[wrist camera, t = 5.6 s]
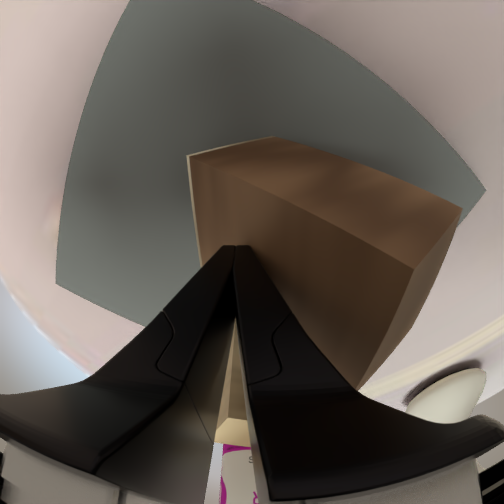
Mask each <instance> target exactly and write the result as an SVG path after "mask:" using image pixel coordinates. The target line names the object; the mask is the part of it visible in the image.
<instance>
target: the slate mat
mask: <svg viewBox="0 0 504 504" xmlns="http://www.w3.org/2000/svg"><path fill="white" fill-rule="evenodd" d="M269 136H275V137H278V138H282V139H286V140H289V141H293V142H296V143H300V144H303V145H306V146H309V147H313V148H316V149H319V150H322V151H325V152H328V153H331V154H334V155H337V156H340V157H343V158H346V159H349V160H352V161H354V162H357V163H360V164H363V165H365V166H368V167H371V168H373V169H376V170H378V171H381V172H384V173H386V174H389V175H391V176H393V177H396V178H398V179H401V180H403V181H405V182H408V183H410V184H412V185H415V186H417V187H419V188H421V189H424V190H426V191H428V192H430V193H432V194H434V195H437V196H439V197H441V198H443V199H445V200H447V201H449V202H451V203H453V204H455V205H457V206H459V207H461V208H463V209H462V212H461V215H460V218H459V221H458V224H457V227H458V225H459V224H460V223H461V222H462V221H463V219H464V218H465V217H466V216H467V214H468V213H469V212H470V211H471V209H472V208H473V207H474V206H475V204H476V203H477V202H478V201H479V199H480V198H481V197H482V195H483V194H484V193H485V191H486V189H485V188H484V186H483V185H482V184H481V182H480V181H479V180H478V178H477V177H476V176H475V174H474V173H473V172H472V171H471V169H470V168H469V167H468V166H467V164H466V163H465V162H464V161H463V160H462V158H461V157H460V156H459V155H458V154H457V152H456V151H455V150H454V149H453V148H452V147H451V146H450V144H449V143H448V142H447V141H446V140H445V139H444V138H443V137H442V136H441V135H440V134H439V133H438V131H437V130H436V129H435V128H434V127H433V126H432V125H431V124H430V123H429V122H428V121H427V120H426V119H425V118H424V117H423V116H422V115H421V114H420V113H419V112H418V111H417V110H416V109H414V108H413V107H412V106H411V105H410V104H409V103H408V102H407V101H406V100H405V99H404V98H402V97H401V96H400V95H399V94H398V93H397V92H396V91H394V90H393V89H392V88H391V87H390V86H389V85H387V84H386V83H385V82H384V81H382V80H381V79H380V78H379V77H378V76H376V75H375V74H374V73H372V72H371V71H370V70H369V69H367V68H366V67H365V66H363V65H362V64H361V63H359V62H358V61H356V60H355V59H354V58H352V57H351V56H349V55H348V54H347V53H345V52H344V51H342V50H341V49H339V48H338V47H336V46H335V45H333V44H332V43H330V42H329V41H327V40H326V39H324V38H322V37H321V36H319V35H317V34H316V33H314V32H312V31H311V30H309V29H307V28H306V27H304V26H302V25H300V24H299V23H297V22H295V21H293V20H291V19H289V18H288V17H286V16H284V15H282V14H280V13H278V12H276V11H274V10H272V9H270V8H268V7H266V6H264V5H261V4H259V3H257V2H255V1H253V0H130V1H129V3H128V5H127V7H126V9H125V10H124V12H123V14H122V16H121V18H120V20H119V22H118V24H117V26H116V28H115V30H114V32H113V34H112V36H111V39H110V41H109V43H108V45H107V48H106V50H105V52H104V55H103V57H102V59H101V62H100V64H99V67H98V69H97V72H96V74H95V77H94V80H93V83H92V85H91V88H90V91H89V94H88V97H87V100H86V103H85V106H84V109H83V113H82V116H81V119H80V123H79V126H78V130H77V134H76V138H75V142H74V146H73V150H72V154H71V159H70V163H69V168H68V173H67V178H66V184H65V189H64V195H63V202H62V209H61V216H60V225H59V234H58V245H57V260H56V284H57V285H59V286H61V287H63V288H65V289H67V290H69V291H70V292H72V293H74V294H76V295H78V296H80V297H82V298H84V299H86V300H88V301H90V302H92V303H94V304H96V305H98V306H100V307H102V308H105V309H107V310H109V311H111V312H113V313H115V314H117V315H120V316H122V317H124V318H126V319H128V320H131V321H133V322H135V323H138V324H140V325H142V326H145V327H146V326H147V325H148V324H149V323H150V322H151V321H152V320H153V319H154V318H155V317H156V316H157V315H158V313H159V312H160V311H162V309H163V308H164V307H165V306H166V305H167V304H168V303H169V302H170V301H171V300H172V298H173V297H174V296H175V295H176V294H177V293H178V292H179V291H180V290H181V289H182V288H183V287H184V286H185V284H186V283H187V282H188V281H189V280H190V279H191V278H192V277H193V276H194V275H195V274H196V273H197V272H198V271H199V269H200V268H201V267H200V260H199V254H198V247H197V240H196V233H195V225H194V218H193V210H192V202H191V193H190V185H189V176H188V166H187V157H186V155H190V154H194V153H197V152H201V151H205V150H209V149H213V148H217V147H222V146H226V145H230V144H235V143H239V142H244V141H249V140H254V139H259V138H264V137H269ZM457 227H456V228H457Z"/></svg>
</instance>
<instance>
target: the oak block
mask: <svg viewBox="0 0 504 504" xmlns="http://www.w3.org/2000/svg"><path fill="white" fill-rule="evenodd" d="M214 442H217V443H223V444H229V445H237V446H245V447H251V446H250V438H249V431H248V423H247V415H246V407H245V398H244V390H243V381H242V372H241V364H240V355H239V345H238V336H237V326H236V318H235V324H234V330H233V336H232V341H231V347H230V353H229V359H228V364H227V370H226V376H225V382H224V387H223V393H222V399H221V405H220V411H219V416H218V422H217V428H216V434H215V440H214Z"/></svg>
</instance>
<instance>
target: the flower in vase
mask: <svg viewBox="0 0 504 504" xmlns="http://www.w3.org/2000/svg"><path fill="white" fill-rule="evenodd" d="M485 383H486V372H485V371H483V370H481V369H479V368H472V369H467V370H463V371H460V372H457V373H454V374H451V375H449V376H447V377H445V378H443V379H441V380H439V381H437V382H435V383H434V384H432V385H431V386H429V387H427V388H426V389H425V390H423V391H422V392H421V393H420V394H418V395H417V396H416V397H415V398H414V399H413V400H412V401H411V402H410V403H409V404H408V406H407V409H406V412H405V413H408V414H411V415H413V416H416V417H419V418H422V419H425V420H428V421H432V422H435V423H456V422H460V421H463V420H465V419H468V418H469V417H470V414H471V413H472V411H473V409H474V407H475V405H476V404H477V402H478V400H479V398H480V396H481V394H482V392H483V389H484V386H485ZM476 463H477V468H478V473H480V472H482V471H484V470H486V469H485V468H483V467H482V466H481V465H480V464H479V463H478V461H477V460H476Z"/></svg>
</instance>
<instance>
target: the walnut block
mask: <svg viewBox="0 0 504 504" xmlns="http://www.w3.org/2000/svg"><path fill="white" fill-rule="evenodd" d="M186 157H187V166H188V176H189V185H190V193H191V202H192V210H193V218H194V225H195V233H196V240H197V247H198V254H199V260H200V267H202V266H203V265H204V264H205V263H206V262H207V261H208V260H209V259H210V258H211V257H212V256H213V255H214V254H215V253H216V252H217V250H218V249H219V248H220V247H221V246H223V245H235V246H237V245H249V246H250V247H251V248H252V250H253V251H254V253H255V254H256V256H257V258H258V259H259V261H260V262H261V264H262V265H263V267H264V268H265V270H266V272H267V273H268V275H269V276H270V278H271V279H272V281H273V282H274V284H275V286H276V287H277V289H278V290H279V292H280V293H281V295H282V297H283V298H284V300H285V301H286V303H287V304H288V306H289V307H290V309H291V311H292V314H294V315H295V317H296V318H297V320H298V321H299V323H300V324H301V326H302V327H303V329H304V330H305V331H306V333H307V334H308V336H309V337H310V338H311V339H312V341H313V342H314V343H315V344H316V346H317V347H318V348H319V349H320V350H321V352H322V353H323V354H324V355H325V356H326V357H327V358H328V360H329V361H330V362H331V363H332V364H333V365H334V366H335V368H336V369H337V370H338V371H339V372H340V373H341V374H342V376H343V377H344V378H345V379H346V380H347V381H348V382H349V383H350V384H351V386H352V387H354V388H355V389H356V390H357V391H358V390H359V389H360V388H361V387H362V386H363V385H364V384H365V383H366V382H367V381H368V379H369V378H370V377H371V376H372V375H373V374H374V373H375V372H376V371H377V369H378V368H379V367H380V366H381V365H382V364H383V362H384V361H385V360H386V359H387V358H388V357H389V355H390V354H391V353H392V352H393V351H394V349H395V348H396V347H397V346H398V344H399V343H400V342H401V341H402V339H403V338H404V337H405V336H406V334H407V333H408V332H409V330H410V329H411V328H412V326H413V324H414V322H415V320H416V318H417V317H418V315H419V313H420V311H421V309H422V307H423V305H424V303H425V301H426V299H427V297H428V295H429V293H430V290H431V288H432V286H433V284H434V282H435V280H436V277H437V275H438V273H439V270H440V268H441V266H442V263H443V261H444V259H445V256H446V254H447V251H448V249H449V246H450V243H451V241H452V238H453V235H454V233H455V230H456V227H457V224H458V221H459V218H460V215H461V212H462V209H463V208H461V207H459V206H457V205H455V204H453V203H451V202H449V201H447V200H445V199H443V198H441V197H439V196H437V195H434V194H432V193H430V192H428V191H426V190H424V189H421V188H419V187H417V186H415V185H412V184H410V183H408V182H405V181H403V180H401V179H398V178H396V177H393V176H391V175H389V174H386V173H384V172H381V171H378V170H376V169H373V168H371V167H368V166H365V165H363V164H360V163H357V162H354V161H352V160H349V159H346V158H343V157H340V156H337V155H334V154H331V153H328V152H325V151H322V150H319V149H316V148H313V147H309V146H306V145H303V144H300V143H296V142H293V141H289V140H286V139H282V138H278V137H275V136H269V137H264V138H259V139H254V140H249V141H244V142H239V143H235V144H230V145H226V146H222V147H217V148H213V149H209V150H205V151H201V152H197V153H194V154H190V155H186Z"/></svg>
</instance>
